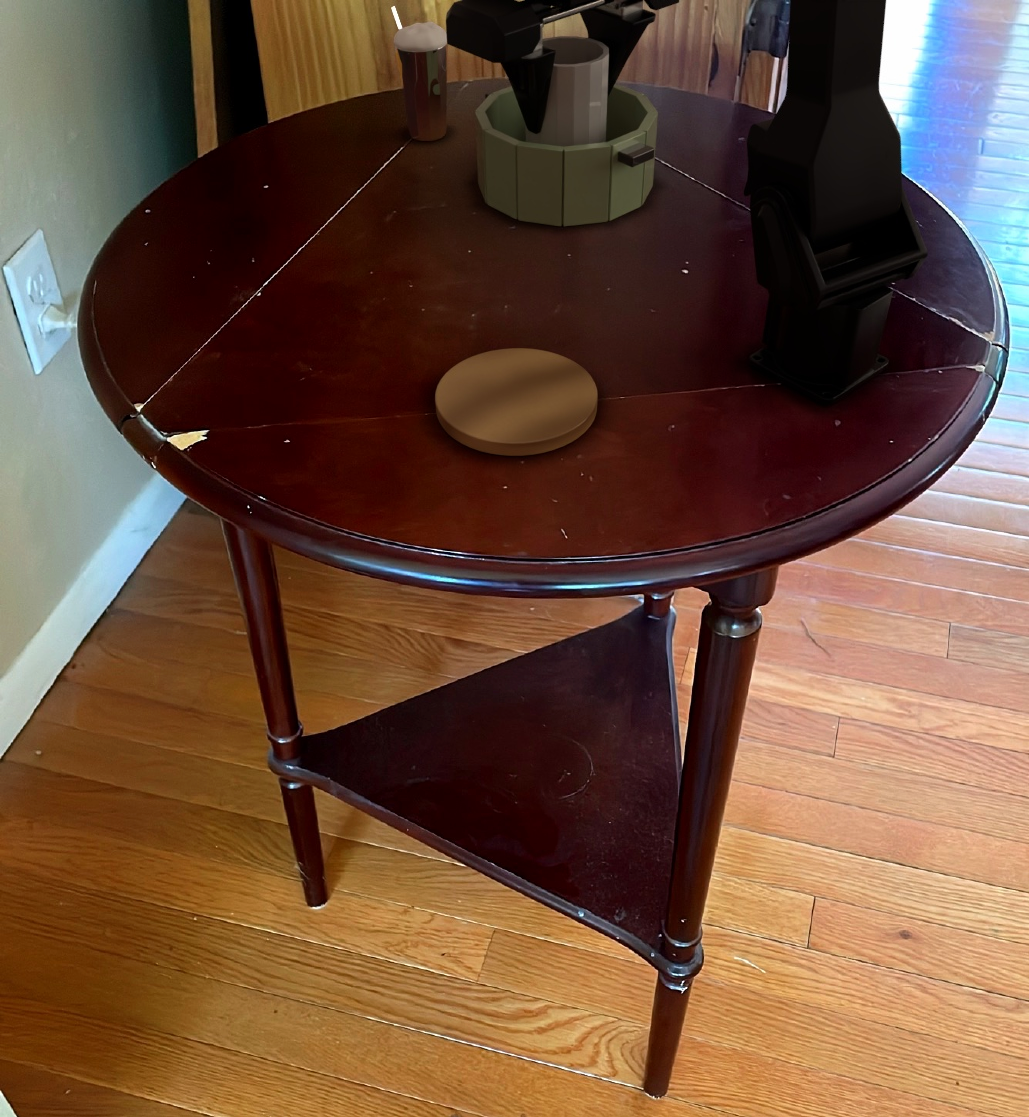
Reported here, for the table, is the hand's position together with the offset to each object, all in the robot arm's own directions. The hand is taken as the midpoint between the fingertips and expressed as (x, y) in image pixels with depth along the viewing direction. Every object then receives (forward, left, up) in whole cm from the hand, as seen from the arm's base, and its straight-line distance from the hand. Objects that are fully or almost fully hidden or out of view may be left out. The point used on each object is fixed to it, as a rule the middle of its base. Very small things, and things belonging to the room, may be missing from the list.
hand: (565, 119), depth 88 cm
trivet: (-20, +23, -5) cm, 31 cm away
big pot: (0, 0, -5) cm, 5 cm away
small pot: (0, 0, -3) cm, 3 cm away
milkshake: (+16, +2, -6) cm, 17 cm away
